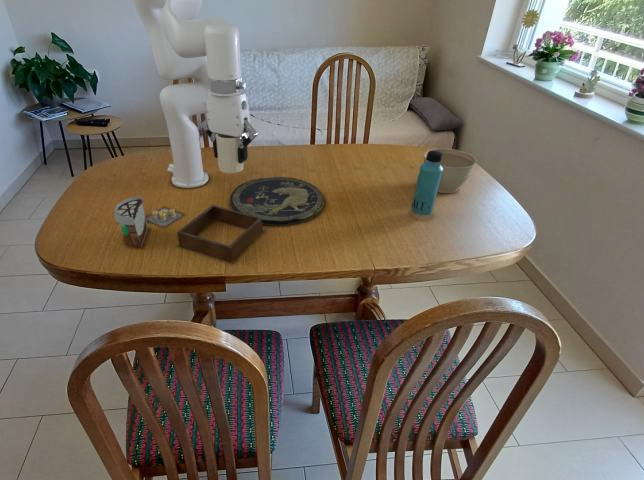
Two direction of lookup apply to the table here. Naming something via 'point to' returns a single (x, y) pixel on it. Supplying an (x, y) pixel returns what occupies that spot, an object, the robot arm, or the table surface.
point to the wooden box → (215, 248)
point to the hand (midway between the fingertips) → (230, 158)
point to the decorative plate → (278, 200)
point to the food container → (132, 220)
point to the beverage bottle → (427, 184)
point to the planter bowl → (454, 169)
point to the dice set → (163, 217)
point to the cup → (228, 154)
